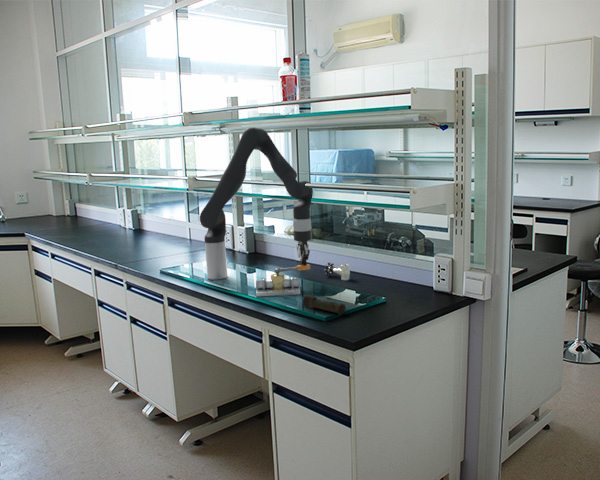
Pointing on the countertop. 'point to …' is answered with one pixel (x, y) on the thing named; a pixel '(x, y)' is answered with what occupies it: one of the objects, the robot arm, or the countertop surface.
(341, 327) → the countertop surface
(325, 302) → the hand tool
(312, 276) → the countertop surface
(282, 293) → the valve manifold
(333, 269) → the valve
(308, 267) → the valve lever
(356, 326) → the countertop surface
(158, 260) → the countertop surface
